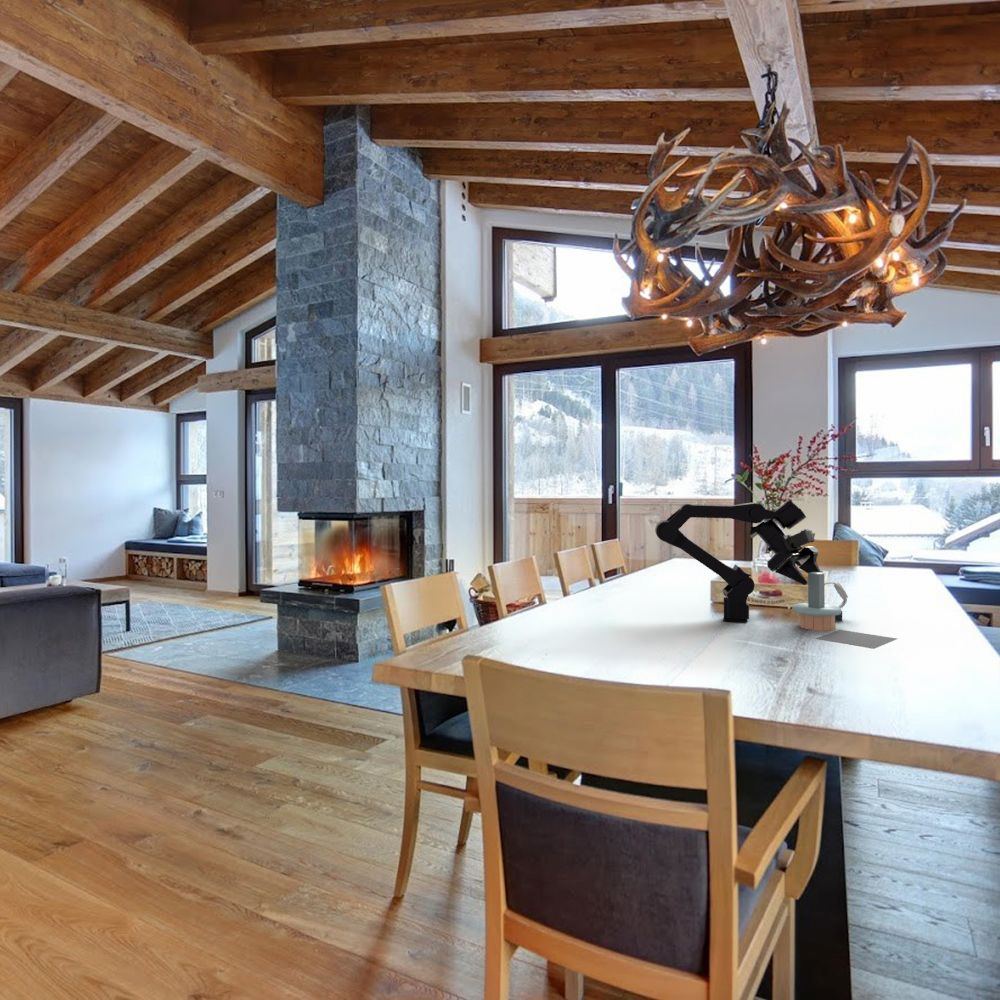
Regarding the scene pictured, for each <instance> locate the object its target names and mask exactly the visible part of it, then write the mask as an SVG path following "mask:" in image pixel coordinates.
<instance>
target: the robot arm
mask: <svg viewBox="0 0 1000 1000" xmlns="http://www.w3.org/2000/svg"><path fill="white" fill-rule="evenodd" d="M692 518H701V519H702V518H703V519H705V518H706V519H707V518H708V519H729V520H730V519H731V520H737V521H741V522H746V523H749V524H750V523H751V524H757V525H756V526H750V527H749V529H750V530H749V535H750V538H751V539H754V538H755V537H757V536H759V538H760V539H762V541H763V542H764V543H765V544H766V545H767V547H768V548H767V551H768V552H770V553H771V552H773V554H774V555H773V556H771V558H769V559H768V560H767V562H766V563H767V568H768V569H769V570H770V571H771V572H775V574H779V575H782V576H784V577H786V578H788V579H791V580H793V581H795V582H797V583H799V584H801V585H803V586H806V585H808V580H807V579H806V578H805V576H804V575H803V573H802V572H801V571H803V572H805V573H806V574H808V573H811V572H819V573H822V571H821V570H820V567H819V565H818V562H817V559H818V557H819V553H820V551H819V549H818V548H816V546H812V545H811V546H809V545H808V546H805V547H804V545H807V544H810V543H814V542H815V541H816V539H815V535H816V533H815V532H813V530H811V529H809V528H804V530H800V532H798V533H795V534H786V533H785V532H784V530H785V529H787V530H790V531H791V529H792V528H794V527H795V526H796V525H798V524H800V523H801V522H802V521H804V520H805V519H807V516H806V514H805V512H804V511H803V510H802V509H801V508H799V507H798V506H797V504H795V503H794V502H793V500H791V499H788V500H786V501H785V502H784V503H783V504H782V505H781V506H779V507H778V508H776V509H774V510H773V509H767V508H765V507H764V505H763V504H761V503H758V502H746V503H738V504H733V505H714V504H713V505H712V504H710V505H709V504H707V505H706V504H689V503H684V504H682V505H681V506H680V508H679V509H678V510H676V511H675V512H674V513H672V514H671V515H670V516H669V517H667V519H666V520H661V521H659V522H657V523H656V526H655V528H654V531H655V535H656V537H657V538H658V539H659V540H660V541H662V542H665V543H667V544H669V545H670V546H674V547H676V548H678V549H680V550H682V551H683V552H685V553H686V554H688V555H689V556H690V557H692V558H693V559H694V560H696V561H697V562H699V563H700V564H702V565H704V566H705V567H706V568H708V569H709V570H711V571H712V572H713V573H715V574H716V575H718V576H719V577H720V578H722V580H723V581H724V582H726V583H727V585H726V586H724V588H722V593H723V595H724V597H723V618H722V621H723V622H736V623H748V620H749V619H750V604H749V603H747V601H748V597H749V595H750V594H751V593H753V592H754V590H755V581H754V580H753V578H751V574H750V573H749V572H748V571H746V570H743V569H742V568H741V567H739V566H738V565H737V564H734V565H733V567H731V566H729V565H727V564H725V563H724V562H722V561H721V560H719V559H718V558H717V557H716V556H714V555H712V554H711V553H710V552H708V551H706V550H705V549H704V548H702V547H700V546H699V545H698V544H696V543H695V542H694V541H692V540H691V539H689V538H687V536H686V535H685V534H684V533H683V532H682V531H681V530H680V529H681V528H682V527H683V525H685V524H686V523H687V522H688V520H690V519H692ZM764 520H767V521H764ZM781 528H782V529H781ZM797 566H798V567H797ZM800 570H801V571H800Z"/></svg>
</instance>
